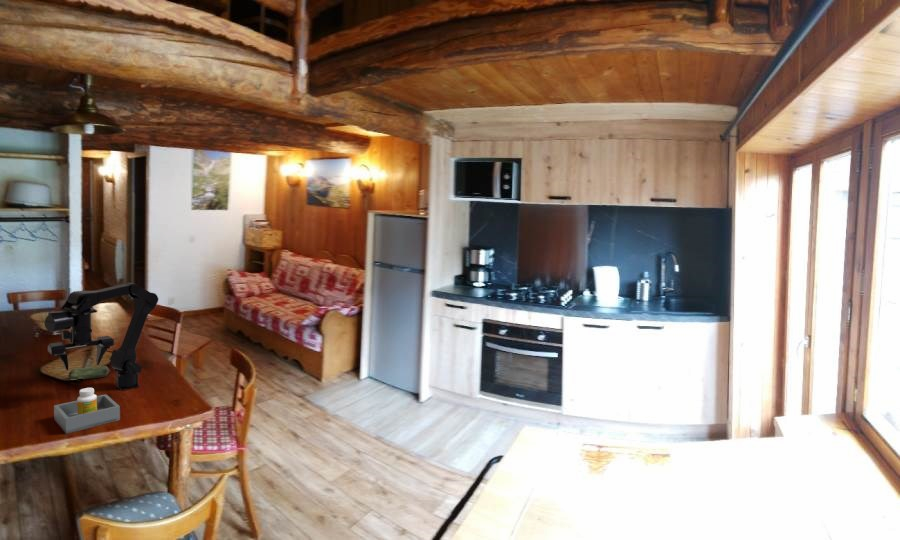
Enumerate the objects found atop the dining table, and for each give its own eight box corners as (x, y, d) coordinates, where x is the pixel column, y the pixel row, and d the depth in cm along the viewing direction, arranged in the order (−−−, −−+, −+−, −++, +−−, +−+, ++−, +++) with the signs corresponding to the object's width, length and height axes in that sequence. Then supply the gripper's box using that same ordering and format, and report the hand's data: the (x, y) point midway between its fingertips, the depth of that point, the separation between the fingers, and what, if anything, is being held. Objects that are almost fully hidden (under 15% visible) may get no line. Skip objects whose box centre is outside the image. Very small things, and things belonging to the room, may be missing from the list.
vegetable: (68, 383, 195) (68, 371, 194) (68, 379, 199) (68, 367, 198) (110, 377, 203) (110, 366, 203) (109, 374, 207) (109, 362, 207)
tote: (106, 407, 176) (106, 394, 176) (120, 419, 168) (119, 406, 167) (54, 419, 165) (53, 405, 164) (66, 433, 156) (65, 419, 155)
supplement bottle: (81, 421, 162) (81, 394, 161) (74, 417, 165) (73, 390, 164) (100, 416, 167) (99, 389, 166) (92, 412, 170) (92, 385, 168)
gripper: (104, 318, 188) (105, 357, 190) (42, 325, 174) (44, 367, 176) (114, 324, 181) (115, 364, 183) (51, 331, 167) (52, 375, 169)
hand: (82, 367), depth 178 cm, fingers open, 9 cm apart
